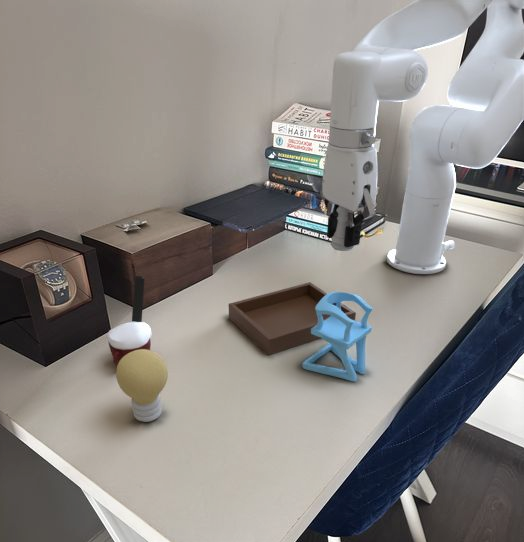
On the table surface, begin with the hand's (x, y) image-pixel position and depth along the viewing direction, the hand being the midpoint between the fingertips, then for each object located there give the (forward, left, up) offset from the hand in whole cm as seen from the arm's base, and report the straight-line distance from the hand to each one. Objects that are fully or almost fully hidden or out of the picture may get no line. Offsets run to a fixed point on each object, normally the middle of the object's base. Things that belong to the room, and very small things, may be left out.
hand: (342, 240), depth 95 cm
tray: (+15, +6, -10) cm, 19 cm away
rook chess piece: (0, 0, -2) cm, 2 cm away
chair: (+16, +21, -11) cm, 29 cm away
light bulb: (+46, +17, -11) cm, 50 cm away
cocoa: (+43, +3, -11) cm, 44 cm away
